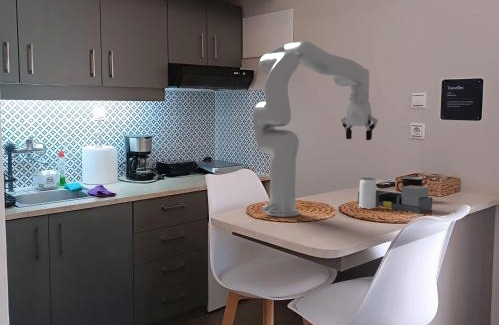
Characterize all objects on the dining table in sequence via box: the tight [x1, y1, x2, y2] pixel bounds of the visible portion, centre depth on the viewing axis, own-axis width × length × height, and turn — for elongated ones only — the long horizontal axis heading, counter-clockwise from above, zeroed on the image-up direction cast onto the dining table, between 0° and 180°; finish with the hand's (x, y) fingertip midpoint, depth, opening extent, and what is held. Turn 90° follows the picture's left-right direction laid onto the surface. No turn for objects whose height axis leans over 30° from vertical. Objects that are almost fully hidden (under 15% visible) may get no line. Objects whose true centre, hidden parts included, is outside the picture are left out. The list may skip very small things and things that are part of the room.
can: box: [358, 177, 377, 209], centre depth 200 cm, size 6×6×12 cm
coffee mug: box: [396, 176, 424, 193], centre depth 219 cm, size 12×9×10 cm
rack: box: [357, 185, 433, 214], centre depth 203 cm, size 10×28×9 cm, turn 44°
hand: (358, 139), depth 211 cm, fingers open, 9 cm apart
